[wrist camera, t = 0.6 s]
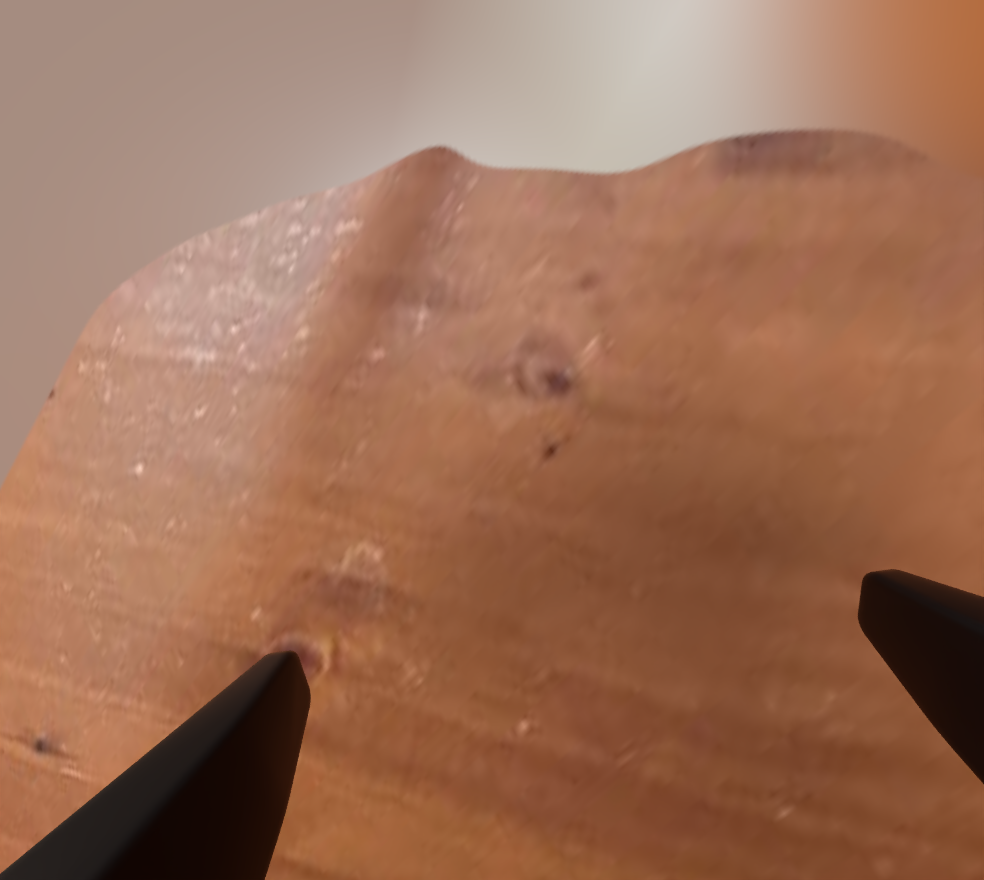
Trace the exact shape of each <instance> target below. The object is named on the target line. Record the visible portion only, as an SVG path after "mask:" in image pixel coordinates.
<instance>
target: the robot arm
mask: <svg viewBox="0 0 984 880" xmlns="http://www.w3.org/2000/svg"><path fill="white" fill-rule="evenodd" d="M858 620H859V624H860V627H861V629H862V631H863V632H864V634H865V635H866V637H867V638H868V639H869V641H870V642H871V643H872V645H873V646H874V647H875V649H876V650H877V651H878V653H879V654H880V655H881V657H882V658H883V659H884V661H885V662H886V663H887V665H888V666H889V667H890V669H891V670H892V671H893V673H894V674H895V675H896V677H897V678H898V679H899V681H900V682H901V683H902V685H903V686H904V687H905V689H906V690H907V691H908V693H909V694H910V695H911V697H912V698H913V699H914V701H915V702H916V704H917V705H918V706H919V708H920V709H921V710H922V712H923V713H924V714H925V715H926V717H927V718H928V719H929V721H930V722H931V723H932V724H933V726H934V727H935V728H936V729H937V731H938V732H939V733H940V734H941V735H942V737H943V738H944V739H945V740H946V741H947V743H948V744H949V745H950V746H951V747H952V749H953V750H954V751H955V752H956V753H957V754H958V755H959V757H960V758H961V759H962V760H963V761H964V762H965V763H966V764H967V766H968V767H969V768H970V769H971V770H972V771H973V772H974V774H975V775H976V776H977V777H978V778H979V779H980V780H981V782H982V783H983V784H984V597H981V596H978V595H975V594H972V593H969V592H966V591H963V590H960V589H957V588H953V587H950V586H947V585H944V584H941V583H938V582H935V581H932V580H929V579H925V578H922V577H919V576H916V575H913V574H910V573H907V572H904V571H900V570H895V569H890V570H882V571H875V572H870V573H868V574H866V575H865V576H864V578H863V580H862V586H861V594H860V601H859V609H858ZM310 700H311V695H310V689H309V685H308V682H307V680H306V677H305V674H304V671H303V668H302V665H301V662H300V659H299V657H298V655H297V654H296V652H294V651H283V652H275V653H270V654H268V655H266V656H264V657H263V658H262V659H261V660H259V661H258V662H257V663H256V664H255V665H253V666H252V667H251V668H250V669H249V670H247V671H246V672H245V673H244V674H242V675H241V676H240V677H239V678H238V679H236V680H235V681H234V682H233V683H232V684H230V685H229V686H228V687H227V688H225V689H224V690H223V691H222V692H221V693H219V694H218V695H217V696H216V697H215V698H213V699H212V700H211V701H210V702H208V703H207V704H206V705H205V706H204V707H202V708H201V709H200V710H199V711H198V712H196V713H195V714H194V715H193V716H191V717H190V718H189V719H188V720H187V721H185V722H184V723H183V724H182V725H181V726H179V727H178V728H177V729H176V730H174V731H173V732H172V733H171V734H170V735H168V736H167V737H166V738H165V739H164V740H162V741H161V742H160V743H159V744H157V745H156V746H155V747H154V748H153V749H151V750H150V751H149V752H148V753H146V754H145V755H144V756H143V757H142V758H140V759H139V760H138V761H137V762H136V763H134V764H133V765H132V766H131V767H129V768H128V769H127V770H126V771H125V772H123V773H122V774H121V775H120V776H119V777H117V778H116V779H115V780H114V781H112V782H111V783H110V784H109V785H108V786H106V787H105V788H104V789H103V790H102V791H100V792H99V793H98V794H97V795H95V796H94V797H93V798H92V799H91V800H89V801H88V802H87V803H86V804H84V805H83V806H82V807H81V808H80V809H78V810H77V811H76V812H75V813H74V814H72V815H71V816H70V817H69V818H67V819H66V820H65V821H64V822H63V823H61V824H60V825H59V826H58V827H57V828H55V829H54V830H53V831H52V832H50V833H49V834H48V835H47V836H46V837H44V838H43V839H42V840H41V841H40V842H38V843H37V844H36V845H35V846H33V847H32V848H31V849H30V850H29V851H27V852H26V853H25V854H24V855H23V856H21V857H20V858H19V859H18V860H16V861H15V862H14V863H13V864H12V865H10V866H9V867H8V868H7V869H5V870H4V871H3V872H2V873H1V874H0V880H265V877H266V874H267V871H268V867H269V864H270V861H271V858H272V855H273V852H274V849H275V846H276V843H277V839H278V836H279V833H280V830H281V826H282V823H283V820H284V816H285V813H286V809H287V805H288V801H289V797H290V793H291V788H292V784H293V779H294V775H295V770H296V766H297V761H298V757H299V752H300V748H301V743H302V739H303V735H304V730H305V726H306V721H307V717H308V712H309V708H310Z"/></svg>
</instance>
